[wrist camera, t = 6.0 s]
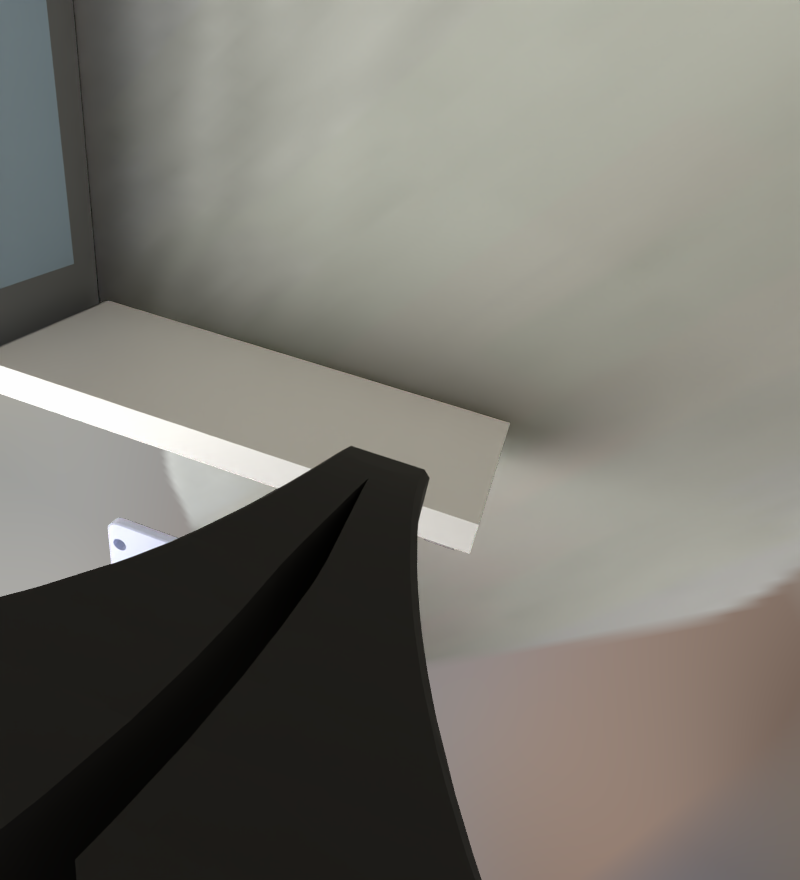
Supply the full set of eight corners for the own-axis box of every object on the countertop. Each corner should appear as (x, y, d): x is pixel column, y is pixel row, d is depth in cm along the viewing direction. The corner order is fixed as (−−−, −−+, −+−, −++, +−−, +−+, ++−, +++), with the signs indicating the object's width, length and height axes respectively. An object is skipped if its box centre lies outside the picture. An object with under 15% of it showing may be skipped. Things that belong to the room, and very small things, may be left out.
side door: (100, 339, 19) (-30, 405, 15) (96, 295, 18) (-41, 353, 14) (496, 465, 17) (462, 576, 13) (510, 422, 16) (478, 526, 12)
